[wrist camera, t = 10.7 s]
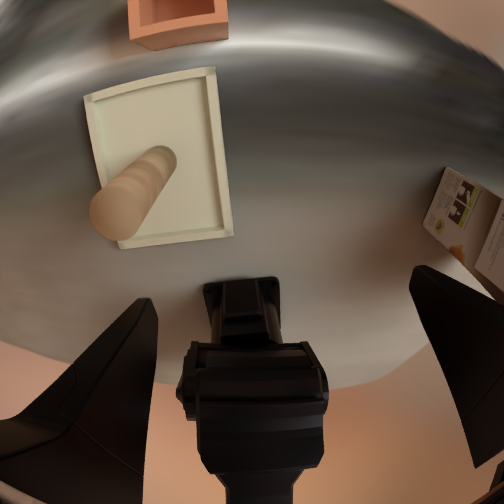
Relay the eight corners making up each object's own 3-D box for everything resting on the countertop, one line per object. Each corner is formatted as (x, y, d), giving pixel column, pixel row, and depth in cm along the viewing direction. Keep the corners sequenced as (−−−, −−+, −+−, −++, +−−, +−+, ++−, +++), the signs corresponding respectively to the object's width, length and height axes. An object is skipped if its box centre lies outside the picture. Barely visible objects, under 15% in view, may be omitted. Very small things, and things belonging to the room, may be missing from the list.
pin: (179, 175, 19) (147, 237, 12) (147, 181, 19) (98, 244, 12) (174, 142, 18) (133, 183, 10) (140, 148, 18) (82, 193, 10)
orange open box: (228, 38, 15) (228, 21, 11) (153, 51, 15) (129, 39, 11) (222, -22, 12) (221, -52, 8) (149, -9, 12) (127, -33, 8)
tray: (233, 228, 22) (234, 236, 21) (124, 241, 22) (119, 249, 21) (215, 67, 16) (214, 65, 15) (90, 95, 16) (83, 96, 15)
